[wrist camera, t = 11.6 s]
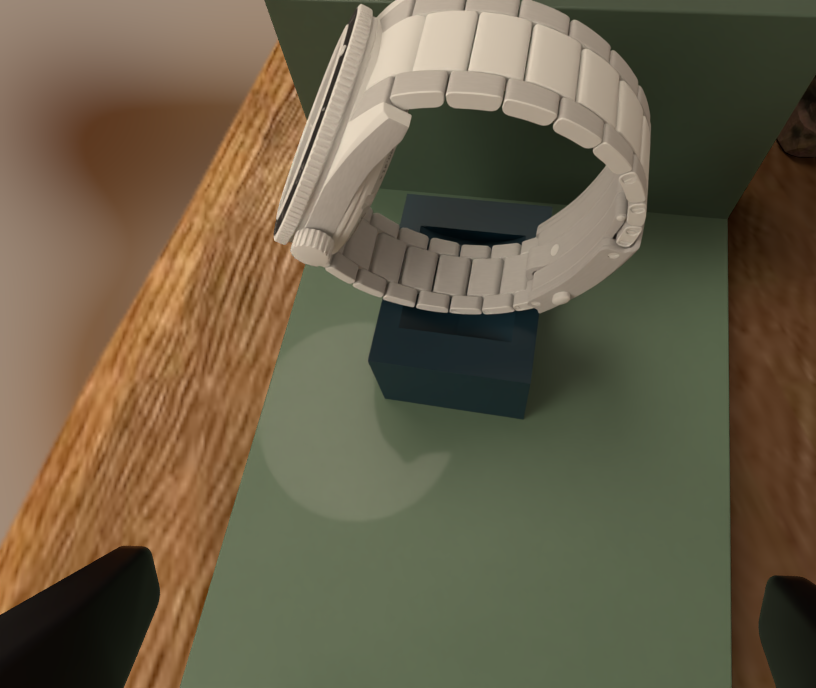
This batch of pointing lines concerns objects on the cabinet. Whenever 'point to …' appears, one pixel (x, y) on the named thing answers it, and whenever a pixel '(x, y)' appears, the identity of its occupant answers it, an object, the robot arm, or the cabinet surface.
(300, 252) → the watch
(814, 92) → the statue
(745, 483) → the cabinet surface
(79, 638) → the robot arm
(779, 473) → the cabinet surface
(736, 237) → the cabinet surface
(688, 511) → the green display stand
